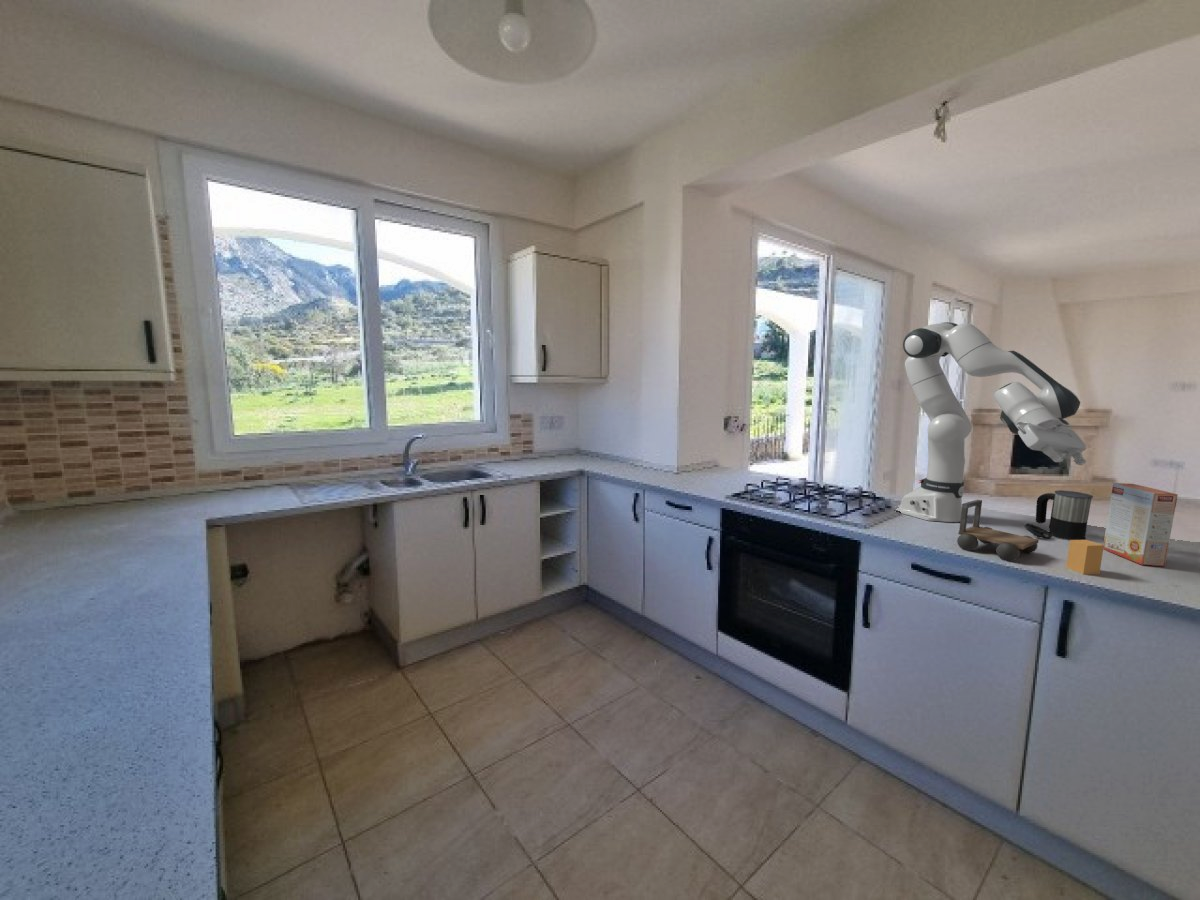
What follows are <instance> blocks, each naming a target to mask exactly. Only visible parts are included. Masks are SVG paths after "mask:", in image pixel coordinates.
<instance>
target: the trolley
mask: <svg viewBox="0 0 1200 900" xmlns="http://www.w3.org/2000/svg"><path fill="white" fill-rule="evenodd" d="M982 504H983V500H981V499H975V500H971V501H968V502H964V503H962V511H961V520H960V523H959V530H958V535H959V536H958V537H957V540H956V542H957V545H958V546H959V548H961V549H962V550H964V551H967V552H968V551H969V552H970V551H973V550H976V549H977V548H978V546H979V541H980V542H981V543H982V542H983V543H982V544H986V543H988V544H991V543H992V544H993V543H994V544H999V545H998V546H997V547H996V550H995V551H996V555H997V557H999V558H1000V559H1001V560H1003V561H1005V560H1006V562H1012V561H1015V560H1017V559H1018V558H1019V557H1020V553H1023V552H1024V553H1023V554H1030V553H1033V552H1035V551H1037V549H1038V544H1039V538H1033V537H1032V536H1030V535H1019V534H1015V533H1010V532H1005V531H1001V530H997V529H993V528H991V527H988V526H984V527H983V526H980V521H981V515H982V514H981V513H982ZM972 507H974V514H973V521H972V522H973V523H972V526H971V527H967V522H968V512H969V509H970V508H972Z"/></svg>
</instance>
